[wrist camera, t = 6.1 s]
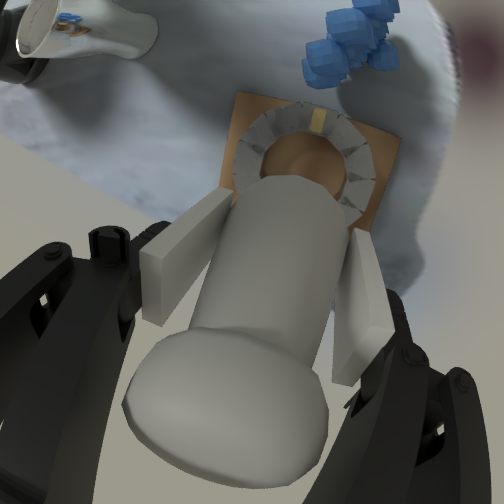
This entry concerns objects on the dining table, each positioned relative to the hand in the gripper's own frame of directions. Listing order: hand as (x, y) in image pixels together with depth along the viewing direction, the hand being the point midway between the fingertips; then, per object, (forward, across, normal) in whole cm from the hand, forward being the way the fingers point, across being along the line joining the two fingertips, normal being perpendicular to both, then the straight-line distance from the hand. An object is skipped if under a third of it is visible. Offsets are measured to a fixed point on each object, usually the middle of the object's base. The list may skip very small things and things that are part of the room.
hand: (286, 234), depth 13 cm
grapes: (+16, +2, +13) cm, 21 cm away
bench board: (+16, 0, 0) cm, 16 cm away
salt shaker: (+3, 0, 0) cm, 3 cm away
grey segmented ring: (+15, 0, 0) cm, 15 cm away
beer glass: (+16, -22, +12) cm, 30 cm away
